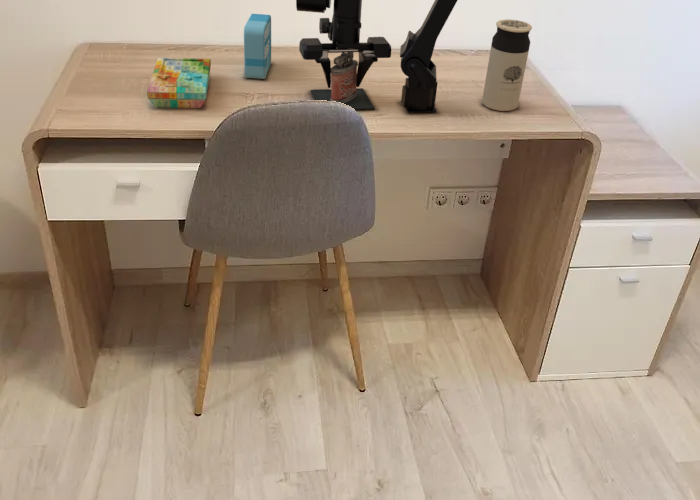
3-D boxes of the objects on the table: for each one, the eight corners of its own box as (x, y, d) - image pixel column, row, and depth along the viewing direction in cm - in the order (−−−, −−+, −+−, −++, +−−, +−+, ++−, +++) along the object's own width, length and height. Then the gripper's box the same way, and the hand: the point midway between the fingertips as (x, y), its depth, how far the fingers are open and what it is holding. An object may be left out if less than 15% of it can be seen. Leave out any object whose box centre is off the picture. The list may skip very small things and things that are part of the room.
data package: (264, 81, 170) (263, 29, 163) (244, 79, 170) (243, 27, 163) (271, 63, 180) (271, 13, 173) (252, 61, 180) (251, 11, 173)
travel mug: (479, 96, 170) (492, 17, 160) (514, 99, 170) (529, 20, 160) (483, 110, 163) (497, 29, 153) (520, 113, 163) (536, 31, 153)
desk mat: (362, 90, 169) (362, 88, 168) (374, 110, 160) (374, 107, 160) (310, 92, 166) (310, 89, 166) (319, 112, 157) (319, 109, 157)
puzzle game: (146, 87, 151) (157, 53, 167) (148, 109, 153) (159, 74, 170) (205, 89, 152) (210, 55, 169) (206, 110, 155) (211, 75, 171)
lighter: (348, 91, 166) (348, 47, 161) (360, 94, 165) (361, 50, 159) (326, 102, 161) (326, 57, 155) (339, 106, 159) (339, 60, 154)
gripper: (381, 2, 161) (375, 72, 170) (295, 3, 157) (294, 74, 166) (395, 18, 152) (388, 90, 161) (304, 19, 148) (303, 93, 157)
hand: (343, 86), depth 161 cm, fingers closed on lighter, 6 cm apart
